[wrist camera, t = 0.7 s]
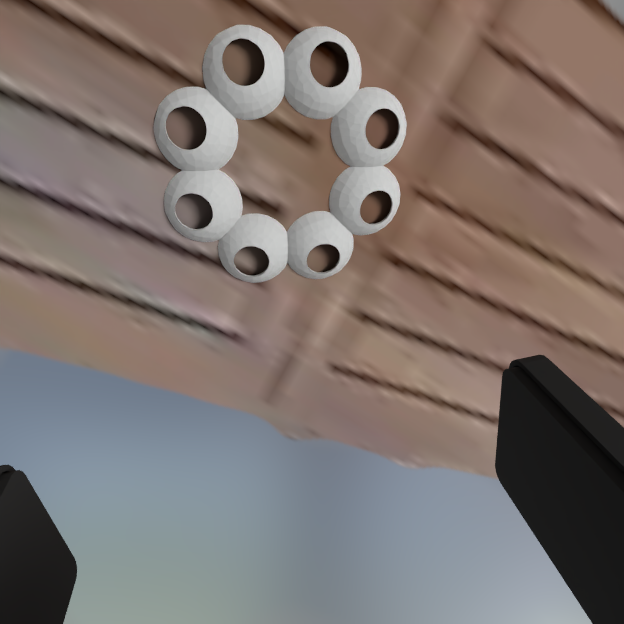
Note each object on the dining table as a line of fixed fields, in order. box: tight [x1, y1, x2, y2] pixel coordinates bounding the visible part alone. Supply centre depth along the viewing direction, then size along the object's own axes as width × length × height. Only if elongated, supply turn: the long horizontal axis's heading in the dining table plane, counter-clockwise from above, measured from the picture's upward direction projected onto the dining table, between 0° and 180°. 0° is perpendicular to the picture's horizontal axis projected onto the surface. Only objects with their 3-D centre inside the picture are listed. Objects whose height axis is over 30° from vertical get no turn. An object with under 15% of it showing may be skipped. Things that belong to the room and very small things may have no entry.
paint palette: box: [154, 25, 407, 283], centre depth 36 cm, size 20×20×2 cm
